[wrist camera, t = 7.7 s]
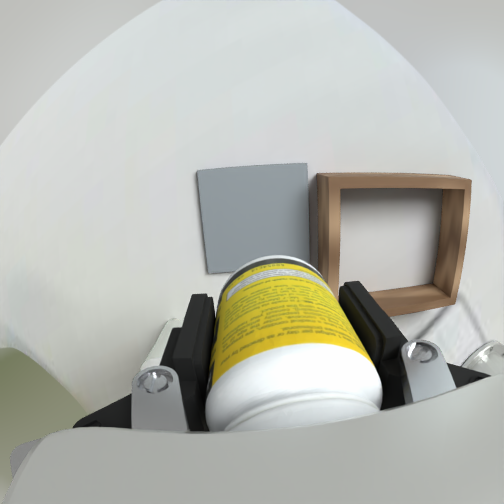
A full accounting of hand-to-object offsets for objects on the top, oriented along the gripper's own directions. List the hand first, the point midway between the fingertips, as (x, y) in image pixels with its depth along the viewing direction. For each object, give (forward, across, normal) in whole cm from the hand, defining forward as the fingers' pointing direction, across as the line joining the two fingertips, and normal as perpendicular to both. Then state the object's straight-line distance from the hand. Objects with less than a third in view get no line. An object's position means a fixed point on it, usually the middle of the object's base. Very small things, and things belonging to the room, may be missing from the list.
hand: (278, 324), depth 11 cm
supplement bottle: (+2, 0, 0) cm, 2 cm away
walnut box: (+18, -14, +3) cm, 23 cm away
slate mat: (+18, 0, 0) cm, 18 cm away
